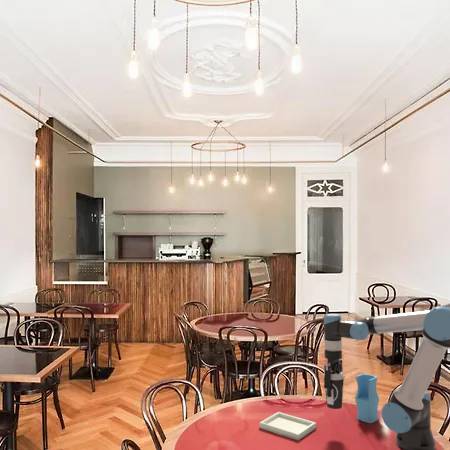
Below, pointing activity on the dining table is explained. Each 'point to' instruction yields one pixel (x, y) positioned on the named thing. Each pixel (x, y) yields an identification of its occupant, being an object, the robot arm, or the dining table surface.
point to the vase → (367, 398)
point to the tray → (288, 425)
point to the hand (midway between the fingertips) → (334, 401)
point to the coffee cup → (336, 390)
